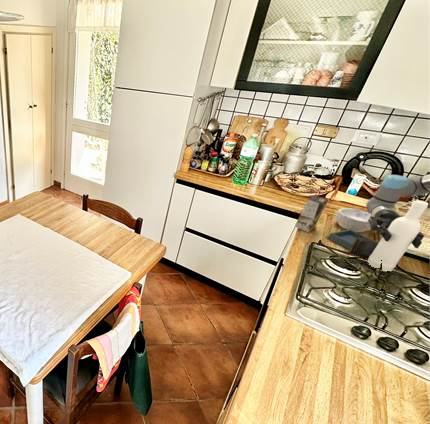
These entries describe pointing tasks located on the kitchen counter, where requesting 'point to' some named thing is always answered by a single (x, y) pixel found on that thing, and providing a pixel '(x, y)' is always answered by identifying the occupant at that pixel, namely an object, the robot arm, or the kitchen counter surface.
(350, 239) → the drying tray
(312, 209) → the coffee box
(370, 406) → the kitchen counter surface
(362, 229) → the paper bowls
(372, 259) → the bottle
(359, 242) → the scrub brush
